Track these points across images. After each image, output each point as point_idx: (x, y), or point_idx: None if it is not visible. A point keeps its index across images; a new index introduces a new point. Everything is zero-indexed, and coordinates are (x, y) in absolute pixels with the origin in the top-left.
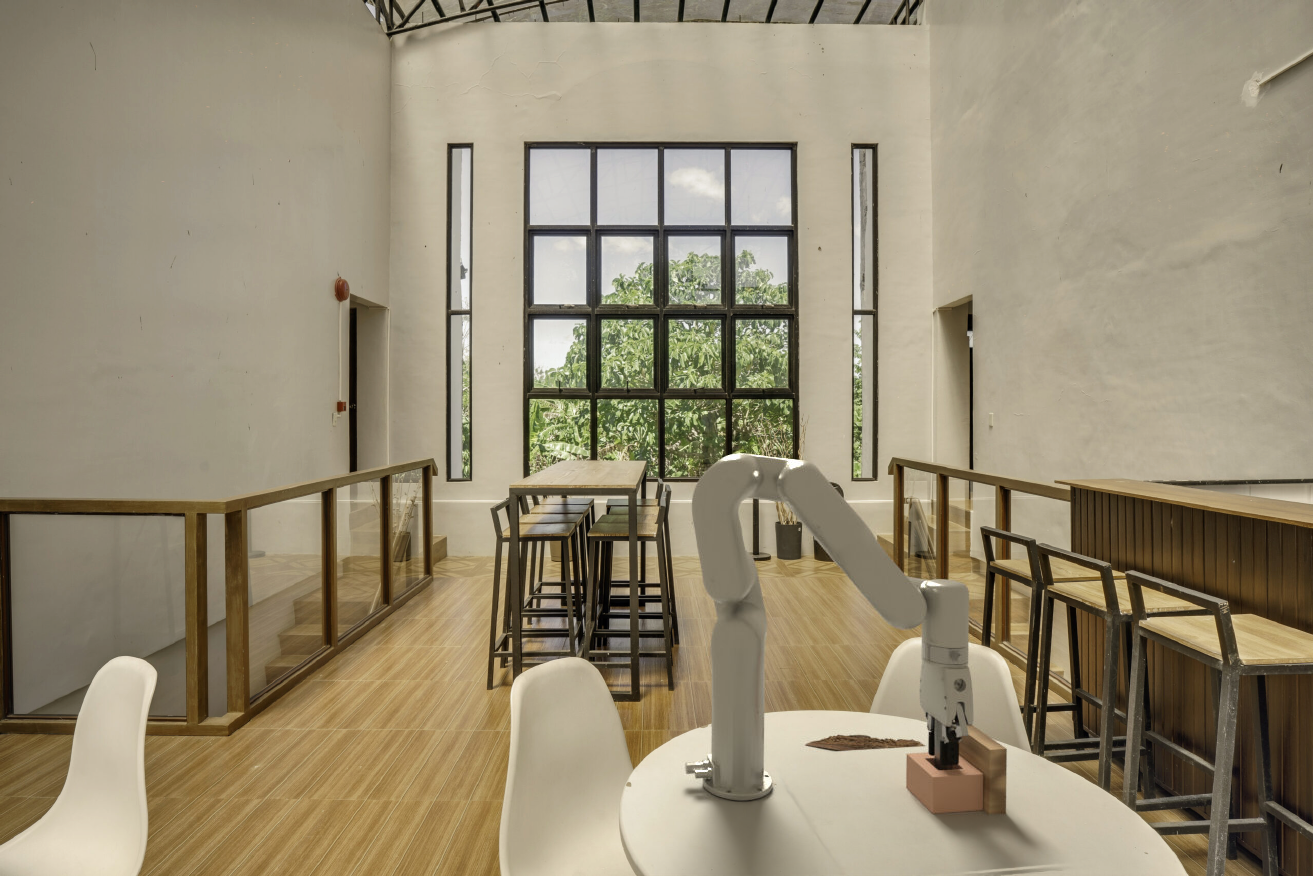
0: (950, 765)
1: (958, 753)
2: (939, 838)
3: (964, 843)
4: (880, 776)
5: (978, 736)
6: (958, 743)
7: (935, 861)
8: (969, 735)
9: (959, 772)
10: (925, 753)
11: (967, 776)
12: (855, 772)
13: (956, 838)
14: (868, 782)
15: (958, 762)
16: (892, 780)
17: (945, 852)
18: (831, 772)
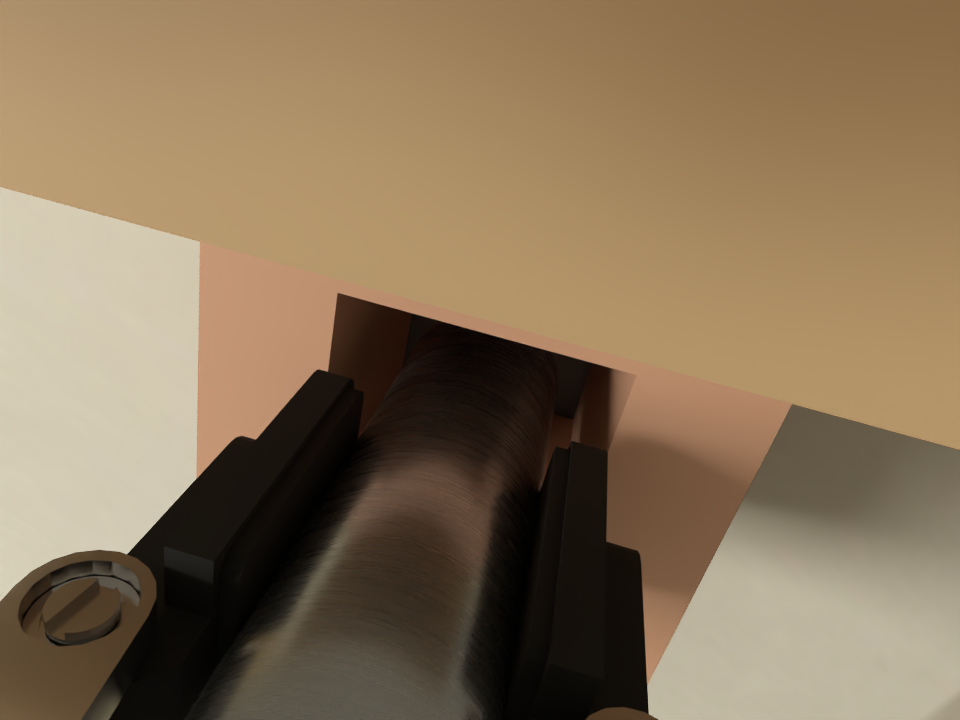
0: (540, 468)
1: (603, 534)
2: (773, 563)
3: (888, 499)
4: (104, 366)
5: (610, 169)
6: (599, 652)
7: (902, 704)
8: (452, 306)
9: (679, 475)
10: (216, 442)
11: (763, 442)
12: (52, 449)
13: (826, 497)
14: (164, 465)
15: (606, 459)
16: (156, 339)
17: (881, 627)
18: (48, 541)
